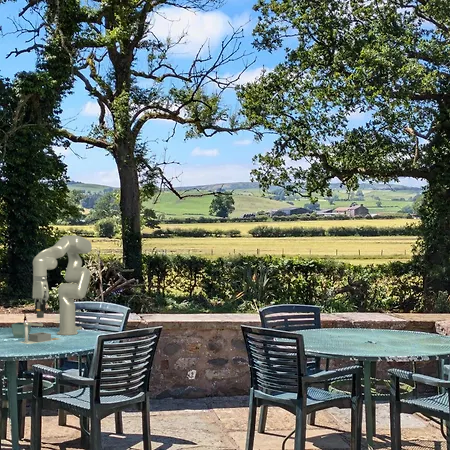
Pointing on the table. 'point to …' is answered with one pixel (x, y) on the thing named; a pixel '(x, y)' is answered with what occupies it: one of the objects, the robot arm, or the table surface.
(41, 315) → the plug
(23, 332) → the flower pot
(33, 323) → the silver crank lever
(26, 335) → the socket plate
